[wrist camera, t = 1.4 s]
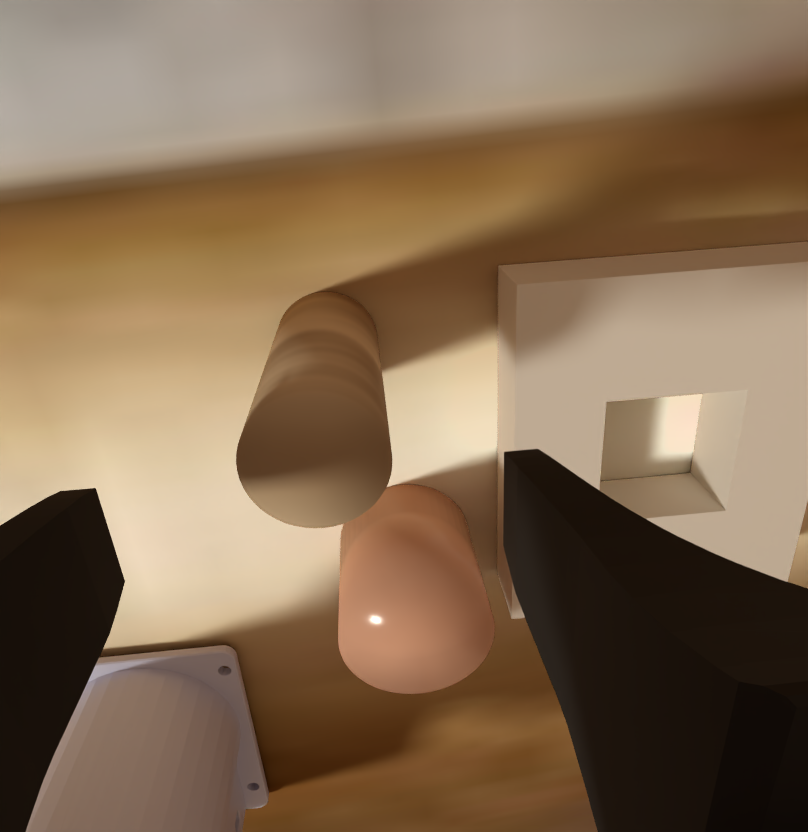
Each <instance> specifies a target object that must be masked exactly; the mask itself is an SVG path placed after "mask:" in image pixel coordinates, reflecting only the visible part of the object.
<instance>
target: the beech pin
mask: <svg viewBox="0 0 808 832" xmlns="http://www.w3.org/2000/svg"><path fill="white" fill-rule="evenodd" d="M236 464H237V471H238V475H239V479H240V481H241V483H242V486H243V488H244V490H245V491H246V493H247V494H248V496H249V497H250V498H251V500H252V501H253V502H254V503H255V504H256V505H257V506H258V507H259V508H260V509H262V510H263V511H264V512H266V513H267V514H268V515H270V516H272V517H274V518H275V519H277V520H280V521H282V522H284V523H287V524H291V525H294V526H299V527H305V528H325V527H332V526H337V525H340V524H344V523H346V522H349V521H351V520H353V519H355V518H357V517H359V516H361V515H362V514H363V513H365V512H366V511H368V510H369V509H370V508H371V507H372V506H373V505H374V504H375V503H376V502H377V501H378V500H379V498H380V497H381V495H382V494H383V492H384V491H385V489H386V487H387V484H388V482H389V479H390V475H391V470H392V452H391V444H390V436H389V428H388V419H387V411H386V403H385V394H384V386H383V378H382V370H381V361H380V353H379V345H378V337H377V330H376V327H375V324H374V322H373V320H372V318H371V316H370V315H369V313H368V312H367V311H366V309H365V308H364V307H363V306H362V305H361V304H359V303H358V302H357V301H355V300H354V299H352V298H350V297H348V296H345V295H343V294H339V293H335V292H318V293H313V294H310V295H307V296H305V297H302V298H301V299H299V300H297V301H296V302H295V303H294V304H292V305H291V306H290V307H289V308H288V309H287V311H286V312H285V314H284V315H283V317H282V319H281V321H280V324H279V327H278V330H277V333H276V336H275V339H274V341H273V344H272V347H271V350H270V353H269V356H268V359H267V362H266V365H265V368H264V371H263V373H262V376H261V379H260V382H259V385H258V388H257V391H256V394H255V397H254V400H253V402H252V405H251V408H250V411H249V414H248V417H247V420H246V423H245V426H244V429H243V432H242V434H241V437H240V440H239V443H238V448H237V454H236Z"/></svg>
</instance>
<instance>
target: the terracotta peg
mask: <svg viewBox="0 0 808 832" xmlns="http://www.w3.org/2000/svg"><path fill="white" fill-rule="evenodd" d="M494 634H495V624H494V618H493V615H492V611H491V608H490V604H489V600H488V597H487V593H486V590H485V586H484V583H483V579H482V576H481V572H480V569H479V565H478V562H477V558H476V554H475V551H474V547H473V544H472V540H471V537H470V533H469V530H468V526H467V523H466V519H465V517H464V515H463V513H462V511H461V510H460V508H459V507H458V506H457V505H456V503H455V502H454V501H452V500H451V499H450V498H449V497H448V496H446V495H444V494H443V493H441V492H439V491H437V490H435V489H432V488H429V487H425V486H420V485H411V484H407V485H396V486H390V487H387V488H386V489H385V491H384V492H383V494H382V495H381V497H380V498H379V500H378V501H377V502H376V503H375V504H374V505H373V506H372V507H371V508H370V509H369V510H368V511H366V512H365V513H363V514H362V515H361V516H359V517H357V518H355V519H353V520H351V521H349V522H346V523H344V524H343V528H342V531H341V543H340V581H339V619H338V645H339V650H340V653H341V656H342V658H343V660H344V662H345V664H346V665H347V667H348V668H349V669H350V670H351V671H352V672H353V673H354V674H355V675H356V676H357V677H358V678H359V679H361V680H362V681H364V682H366V683H367V684H369V685H371V686H373V687H376V688H379V689H381V690H385V691H389V692H394V693H401V694H419V693H427V692H432V691H436V690H440V689H443V688H446V687H449V686H451V685H453V684H455V683H457V682H459V681H461V680H462V679H464V678H466V677H467V676H468V675H470V674H471V673H472V672H474V671H475V670H476V669H477V668H478V667H479V666H480V664H481V663H482V662H483V661H484V660H485V658H486V656H487V655H488V653H489V651H490V649H491V647H492V644H493V640H494Z"/></svg>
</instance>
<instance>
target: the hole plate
mask: <svg viewBox="0 0 808 832" xmlns="http://www.w3.org/2000/svg"><path fill="white" fill-rule="evenodd" d="M693 394H702V399H701V405H700V412H699V418H698V425H697V431H696V438H695V445H694V451H693V458H692V464H691V471H690V473H685V474H674V475H663V476H652V477H642V478H631V479H620V480H609V481H600V476H601V464H602V452H603V439H604V427H605V415H606V403H607V402H613V401H624V400H636V399H647V398H659V397H670V396H682V395H693ZM529 449H539V450H541V451H542V452H544V453H545V454H547V455H549V456H550V457H551V458H553V459H554V460H556V461H557V462H559V463H560V464H562V465H563V466H564V467H566V468H567V469H569V470H570V471H572V472H573V473H574V474H576V475H577V476H579V477H580V478H582V479H583V480H585V481H586V482H587V483H589V484H590V485H592V486H593V487H595V488H596V489H598V490H599V491H601V492H602V493H604V494H606V495H607V496H609V497H610V498H612V499H613V500H615V501H616V502H618V503H620V504H621V505H623V506H625V507H626V508H628V509H629V510H631V511H633V512H635V513H636V514H638V515H640V516H642V517H643V518H645V519H647V520H649V521H650V522H652V523H654V524H656V525H657V526H659V527H661V528H663V529H665V530H667V531H669V532H671V533H672V534H674V535H676V536H678V537H680V538H683V539H685V540H687V541H689V542H691V543H693V544H695V545H697V546H700V547H702V548H704V549H706V550H708V551H710V552H712V553H714V554H717V555H719V556H721V557H724V558H726V559H729V560H731V561H733V562H736V563H738V564H741V565H743V566H746V567H749V568H751V569H754V570H756V571H759V572H762V573H764V574H767V575H770V576H772V577H775V578H778V579H780V580H783V581H786V582H788V578H789V574H790V570H791V566H792V562H793V558H794V554H795V550H796V546H797V542H798V538H799V534H800V530H801V526H802V522H803V518H804V514H805V510H806V506H807V502H808V242H795V243H782V244H769V245H756V246H743V247H731V248H718V249H705V250H692V251H679V252H666V253H653V254H640V255H627V256H614V257H601V258H589V259H576V260H563V261H550V262H537V263H524V264H511V265H498V469H497V575H498V578H499V581H500V584H501V587H502V590H503V593H504V596H505V600H506V603H507V606H508V609H509V612H510V615H511V618H512V619H519V618H525V616H524V613H523V611H522V608H521V606H520V603H519V601H518V598H517V596H516V593H515V590H514V586H513V582H512V578H511V575H510V571H509V567H508V563H507V559H506V555H505V551H504V546H503V509H504V452H506V451H518V450H529Z"/></svg>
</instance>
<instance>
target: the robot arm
mask: <svg viewBox="0 0 808 832" xmlns="http://www.w3.org/2000/svg"><path fill="white" fill-rule="evenodd" d="M503 546H504V551H505V555H506V559H507V563H508V567H509V571H510V575H511V578H512V582H513V586H514V590H515V593H516V596H517V598H518V601H519V603H520V606H521V608H522V611H523V613H524V616H525V618H526V621H527V623H528V626H529V628H530V631H531V633H532V636H533V638H534V641H535V643H536V646H537V648H538V651H539V653H540V656H541V658H542V660H543V663H544V665H545V668H546V670H547V673H548V675H549V678H550V680H551V683H552V685H553V688H554V690H555V692H556V695H557V697H558V700H559V703H560V705H561V708H562V711H563V714H564V717H565V720H566V722H567V725H568V728H569V732H570V735H571V739H572V742H573V746H574V749H575V752H576V756H577V759H578V763H579V766H580V770H581V773H582V776H583V780H584V783H585V787H586V790H587V794H588V798H589V801H590V805H591V809H592V812H593V816H594V819H595V823H596V827H597V830H598V832H808V589H807V588H804V587H801V586H798V585H795V584H792V583H789V582H786V581H783V580H780V579H778V578H775V577H772V576H770V575H767V574H764V573H762V572H759V571H756V570H754V569H751V568H749V567H746V566H743V565H741V564H738V563H736V562H733V561H731V560H729V559H726V558H724V557H721V556H719V555H717V554H714V553H712V552H710V551H708V550H706V549H704V548H702V547H700V546H697V545H695V544H693V543H691V542H689V541H687V540H685V539H683V538H680V537H678V536H676V535H674V534H672V533H671V532H669V531H667V530H665V529H663V528H661V527H659V526H657V525H656V524H654V523H652V522H650V521H649V520H647V519H645V518H643V517H642V516H640V515H638V514H636V513H635V512H633V511H631V510H629V509H628V508H626V507H625V506H623V505H621V504H620V503H618V502H616V501H615V500H613V499H612V498H610V497H609V496H607V495H606V494H604V493H602V492H601V491H599V490H598V489H596V488H595V487H593V486H592V485H590V484H589V483H587V482H586V481H585V480H583V479H582V478H580V477H579V476H577V475H576V474H574V473H573V472H572V471H570V470H569V469H567V468H566V467H564V466H563V465H562V464H560V463H559V462H557V461H556V460H554V459H553V458H551V457H550V456H549V455H547V454H545V453H544V452H542V451H541V450H539V449H529V450H518V451H506V452H504V509H503ZM124 583H125V580H124V577H123V574H122V571H121V568H120V564H119V561H118V558H117V555H116V552H115V548H114V545H113V542H112V539H111V536H110V533H109V529H108V526H107V523H106V520H105V517H104V513H103V510H102V507H101V504H100V501H99V497H98V494H97V491H96V488H92V489H81V490H70V491H60V492H58V493H56V494H54V495H51V496H49V497H47V498H46V499H44V500H42V501H40V502H38V503H37V504H35V505H33V506H31V507H30V508H28V509H26V510H25V511H23V512H21V513H20V514H18V515H17V516H15V517H13V518H12V519H10V520H9V521H7V522H5V523H4V524H2V525H1V526H0V832H242V829H243V822H244V816H245V809H252V808H259V807H263V806H264V805H266V804H267V802H268V797H269V791H268V787H267V782H266V778H265V774H264V769H263V765H262V761H261V756H260V752H259V748H258V744H257V739H256V735H255V731H254V726H253V722H252V718H251V713H250V709H249V705H248V700H247V696H246V692H245V688H244V683H243V679H242V675H241V670H240V666H239V662H238V657H237V653H236V651H235V650H234V649H233V648H232V647H229V646H226V645H220V646H210V647H200V648H190V649H180V650H170V651H160V652H150V653H140V654H130V655H121V656H111V657H101V658H99V656H100V654H101V652H102V650H103V647H104V645H105V643H106V641H107V638H108V636H109V634H110V631H111V628H112V624H113V621H114V618H115V615H116V612H117V608H118V605H119V601H120V597H121V594H122V590H123V586H124ZM222 666H228V667H229V668H224V667H222Z"/></svg>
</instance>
